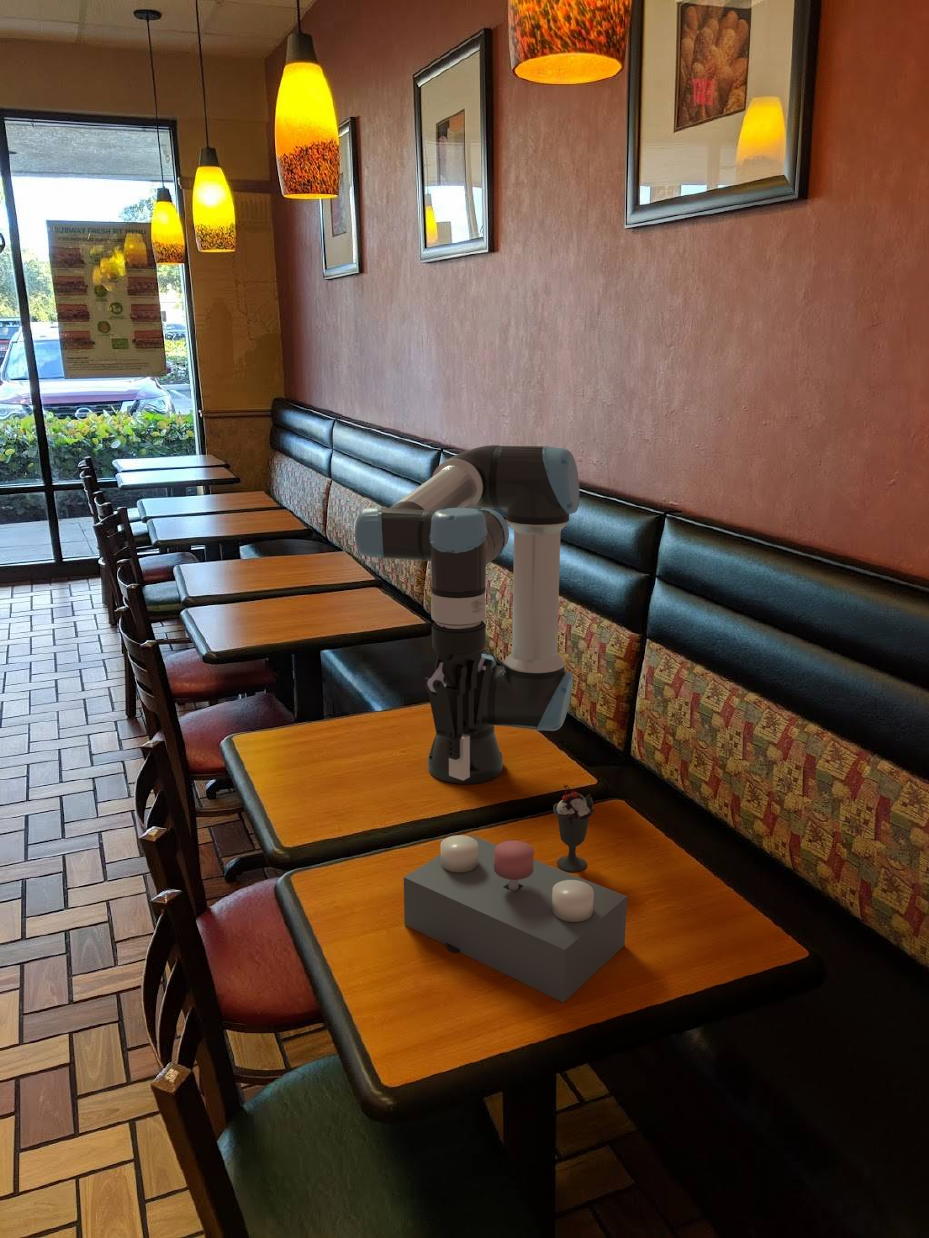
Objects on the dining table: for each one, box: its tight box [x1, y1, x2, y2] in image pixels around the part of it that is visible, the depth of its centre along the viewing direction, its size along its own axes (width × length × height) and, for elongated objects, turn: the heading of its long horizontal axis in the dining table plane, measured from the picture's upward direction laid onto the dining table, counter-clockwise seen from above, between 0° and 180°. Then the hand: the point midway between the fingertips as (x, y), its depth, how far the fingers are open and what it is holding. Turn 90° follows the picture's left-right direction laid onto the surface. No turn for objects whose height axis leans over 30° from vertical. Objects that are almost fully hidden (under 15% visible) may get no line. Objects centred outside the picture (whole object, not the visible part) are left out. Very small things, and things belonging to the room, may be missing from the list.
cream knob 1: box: [440, 834, 478, 872], centre depth 145 cm, size 6×6×8 cm
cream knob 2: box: [552, 880, 594, 922], centre depth 133 cm, size 6×6×8 cm
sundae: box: [552, 784, 595, 873], centre depth 158 cm, size 7×7×15 cm
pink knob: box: [494, 840, 535, 892], centre depth 139 cm, size 6×6×8 cm
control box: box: [403, 834, 628, 1003], centre depth 140 cm, size 16×28×8 cm, turn 51°
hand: (459, 776), depth 141 cm, fingers closed
